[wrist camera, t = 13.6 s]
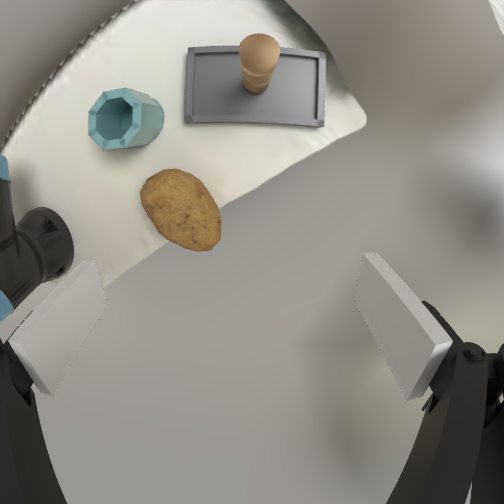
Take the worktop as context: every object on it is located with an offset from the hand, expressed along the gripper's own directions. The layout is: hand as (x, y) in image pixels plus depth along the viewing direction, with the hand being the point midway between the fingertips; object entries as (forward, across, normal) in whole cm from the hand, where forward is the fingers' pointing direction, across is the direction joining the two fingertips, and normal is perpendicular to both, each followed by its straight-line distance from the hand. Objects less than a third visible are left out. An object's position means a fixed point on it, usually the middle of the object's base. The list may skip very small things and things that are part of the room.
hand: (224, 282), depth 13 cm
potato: (+32, -8, -4) cm, 33 cm away
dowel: (+30, +3, +14) cm, 34 cm away
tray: (+32, +3, +14) cm, 35 cm away
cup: (+32, -16, +10) cm, 37 cm away
